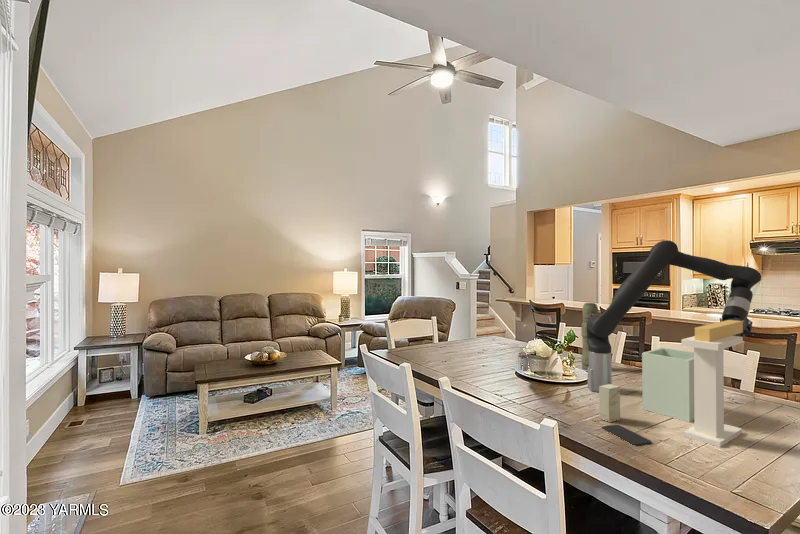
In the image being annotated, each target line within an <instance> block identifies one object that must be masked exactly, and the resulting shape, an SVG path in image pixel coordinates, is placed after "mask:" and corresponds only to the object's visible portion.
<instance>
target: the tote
mask: <svg viewBox="0 0 800 534" xmlns="http://www.w3.org/2000/svg"><path fill="white" fill-rule="evenodd" d="M641 370H642V371H641V374H642V375H641V377H642V378H641V383H642V384H641V385H642V386H641V387H642V388H641V389H642V394H641V395H642V399H641V400H642V401H641V402H642V410H643V409H644V410H645V411H647V412H652V413H655V414H657V415H658V414H659V415H661V414H662V415H663V416H665V415H666V417H669V416H670V417H669V418H672V417H673V419H676V418H677V419H676V420H679V419H680V421H683V422H687V423H690V422H692V421H693V422H694V421H695V419H694V351H693V352H692V351H688V350H687V351H686V350H680V349H674V348H668V347H667V348H666V347H660V348H659V347H658V348H655V349H651V350H648V351H644V352H642V353H641ZM644 410H643V411H644Z"/></svg>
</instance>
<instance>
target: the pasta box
mask: <svg viewBox="0 0 800 534" xmlns="http://www.w3.org/2000/svg"><path fill="white" fill-rule="evenodd" d="M739 333H743V321H736V320H726V321H718V322H714V323H709V324H705V325H701V326H700V325H699V326H697V327H694V336H695V340H699V341H706V342H711V341H714V340H718V339H721V338H725V337H728V336H735V335H736V334H739Z"/></svg>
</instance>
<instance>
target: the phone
mask: <svg viewBox="0 0 800 534" xmlns="http://www.w3.org/2000/svg"><path fill="white" fill-rule="evenodd" d="M602 428H603V429H605V430H607V431H608V433H609V432H611V433H612V434H611V433H610V434H611V435H613V434H614V435H616V436H618V437H620V438H621V439H620V438H619V439H620V440H622V439H623V440H622V441H624V440H625V441H627V442H629V443H630V444H629V443H628V444H629V445H631V444H632V445H631V446H633V445H640V446H646V445H645V444H647V445H652V444H653V442H652V440H651V439H648V438H647V437H644V436H643V435H640V434H638V433H636V432H634V431H631V430H630V429H628V428H626V427H624V426H622V425H619V424H611V425H605V426H601V429H602ZM603 429H602V430H603ZM605 430H604V431H605ZM607 431H606V432H607ZM614 435H613V436H614ZM616 436H615V437H616ZM618 437H617V438H618ZM625 441H624V442H625ZM627 442H626V443H627ZM651 443H652V444H651Z"/></svg>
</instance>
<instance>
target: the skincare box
mask: <svg viewBox="0 0 800 534" xmlns="http://www.w3.org/2000/svg"><path fill="white" fill-rule="evenodd" d="M598 396H599V397H598V398H599V399H598V400H599V401H598V405H599V407H598V409H599V412H598V413H599V415H598V416H599V420H602V421H604V420H605V422H607V421H608V422H607V423H612V422H616V420H617V421H620V420H621V386H620V385H616V384H606V385H602V386H599V392H598Z"/></svg>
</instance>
